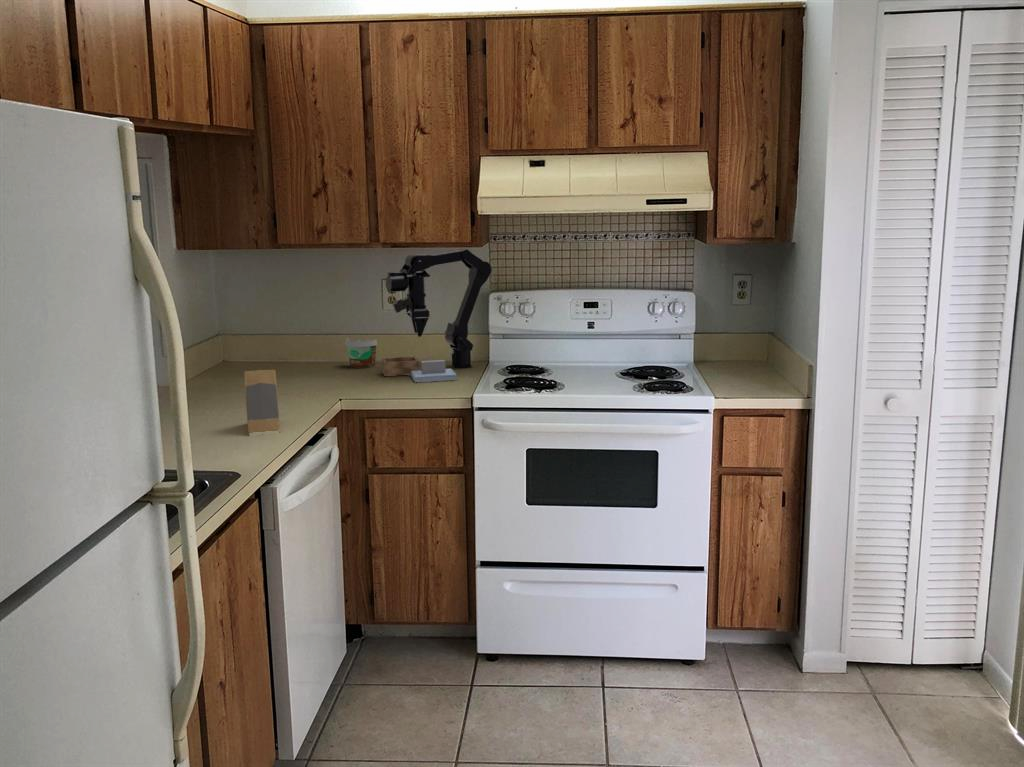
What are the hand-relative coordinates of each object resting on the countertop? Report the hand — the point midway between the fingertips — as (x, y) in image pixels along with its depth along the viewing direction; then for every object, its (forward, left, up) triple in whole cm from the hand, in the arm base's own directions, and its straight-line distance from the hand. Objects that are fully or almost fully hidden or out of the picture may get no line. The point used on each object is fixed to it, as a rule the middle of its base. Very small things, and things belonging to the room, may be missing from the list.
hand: (418, 334), depth 327 cm
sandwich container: (+52, +68, -13) cm, 87 cm away
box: (+7, +3, -13) cm, 15 cm away
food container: (+20, -14, -13) cm, 28 cm away
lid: (-3, +15, -13) cm, 20 cm away
